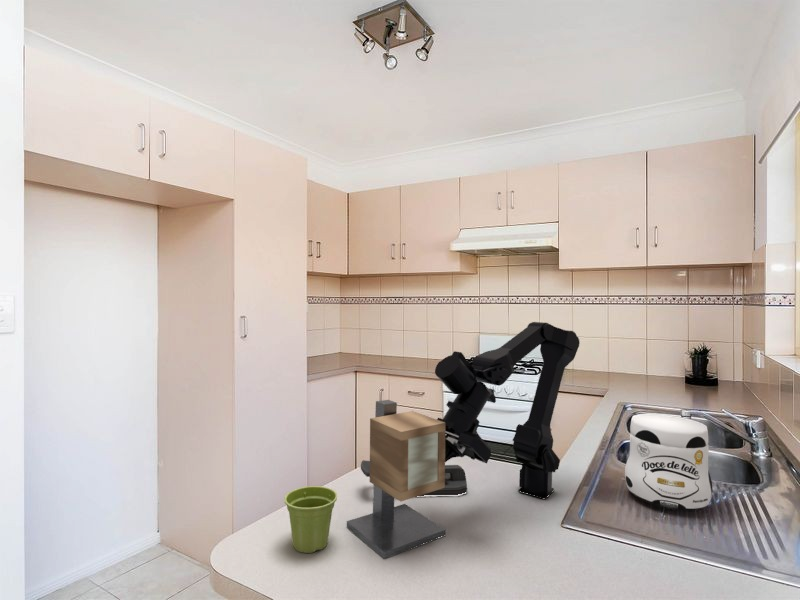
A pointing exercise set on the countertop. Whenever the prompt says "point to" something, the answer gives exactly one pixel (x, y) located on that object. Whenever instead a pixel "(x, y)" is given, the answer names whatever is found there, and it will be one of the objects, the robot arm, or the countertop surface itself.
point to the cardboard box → (407, 454)
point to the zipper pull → (453, 479)
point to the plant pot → (310, 516)
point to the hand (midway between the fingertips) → (425, 474)
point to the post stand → (392, 517)
